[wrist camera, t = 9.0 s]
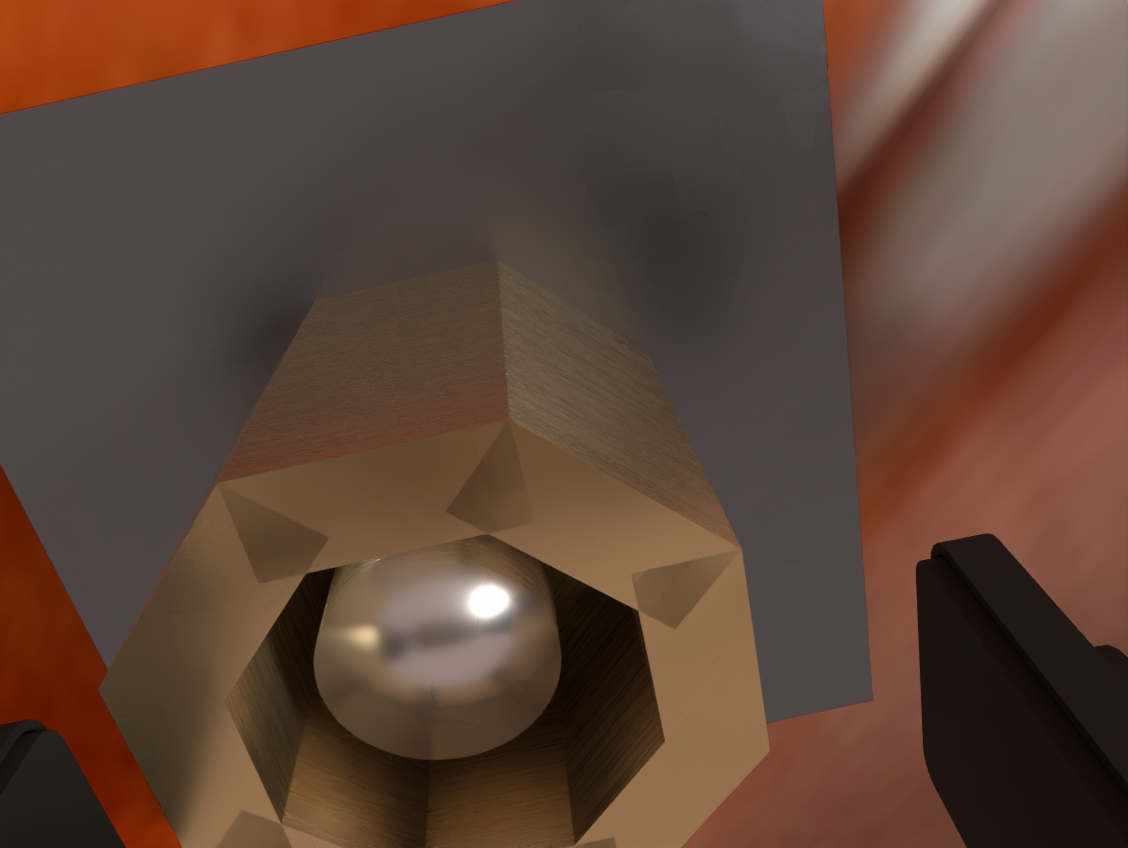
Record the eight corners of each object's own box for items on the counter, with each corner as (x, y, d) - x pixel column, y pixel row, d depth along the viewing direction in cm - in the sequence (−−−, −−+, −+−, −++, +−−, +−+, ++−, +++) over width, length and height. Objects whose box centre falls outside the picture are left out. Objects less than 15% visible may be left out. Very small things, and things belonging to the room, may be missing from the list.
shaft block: (785, -60, 14) (1002, -101, 8) (846, 652, 20) (998, 922, 14) (-103, 136, 14) (-507, 232, 8) (217, 788, 20) (111, 1111, 14)
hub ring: (626, 231, 14) (716, 373, 9) (689, 595, 17) (786, 868, 12) (186, 328, 14) (11, 529, 9) (324, 675, 17) (255, 982, 12)
